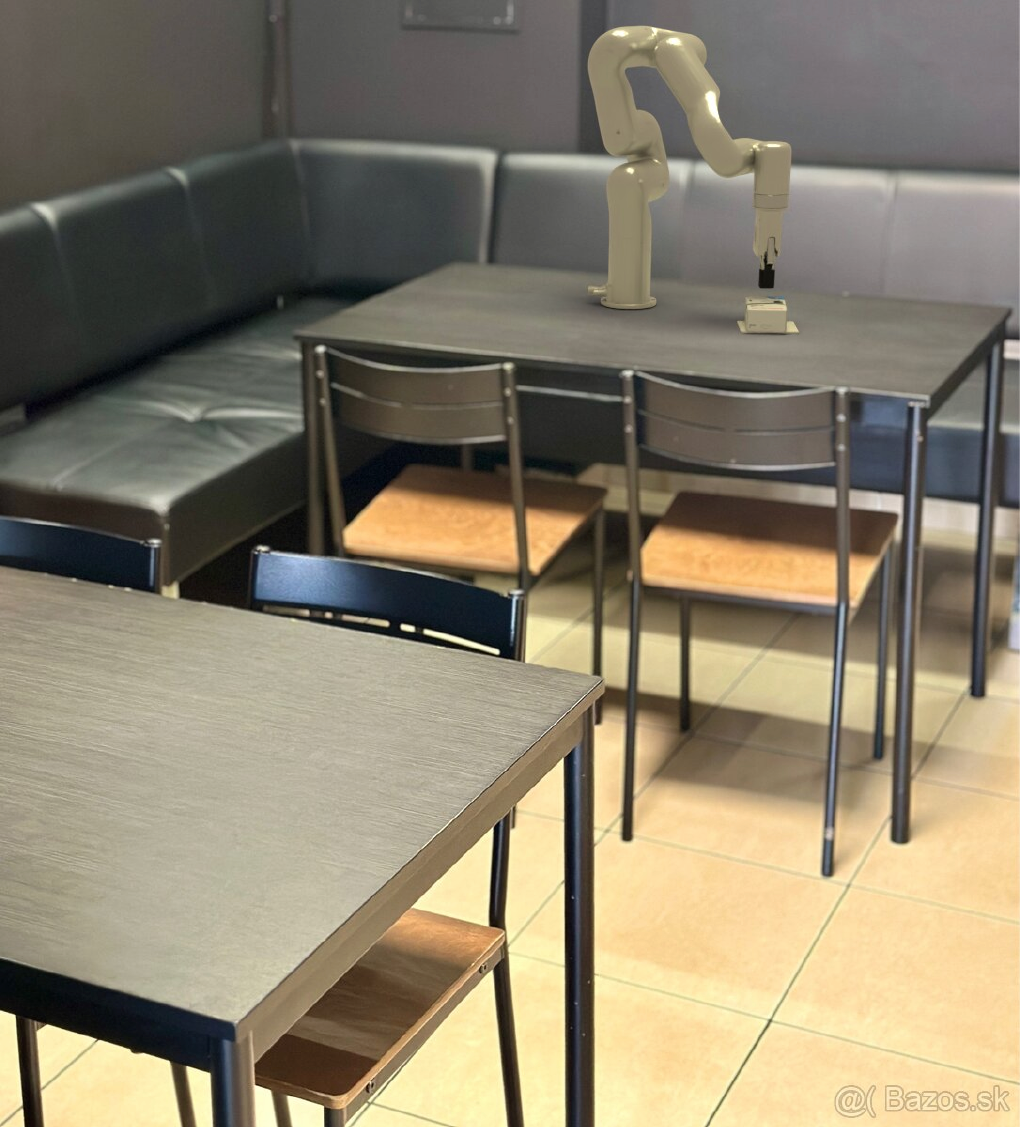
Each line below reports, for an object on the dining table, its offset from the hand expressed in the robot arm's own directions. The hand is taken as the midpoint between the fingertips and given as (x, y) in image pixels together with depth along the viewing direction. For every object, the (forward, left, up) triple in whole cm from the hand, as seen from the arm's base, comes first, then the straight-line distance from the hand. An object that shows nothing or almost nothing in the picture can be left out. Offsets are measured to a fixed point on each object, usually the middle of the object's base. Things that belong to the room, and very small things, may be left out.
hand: (765, 287), depth 344 cm
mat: (0, -8, -7) cm, 11 cm away
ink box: (0, -1, -4) cm, 4 cm away
